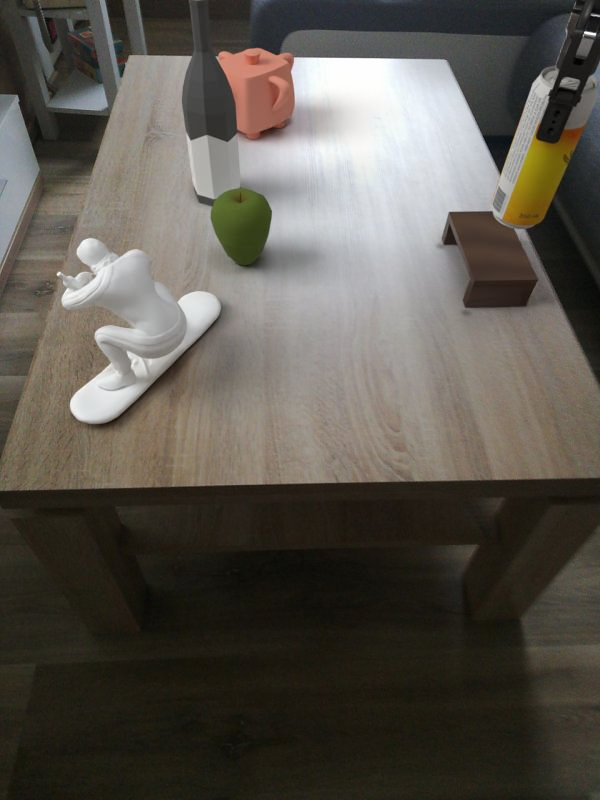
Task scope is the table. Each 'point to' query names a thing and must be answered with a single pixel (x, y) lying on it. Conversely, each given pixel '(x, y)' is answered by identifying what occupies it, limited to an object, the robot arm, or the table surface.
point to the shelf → (490, 260)
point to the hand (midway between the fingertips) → (551, 124)
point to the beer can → (539, 155)
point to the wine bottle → (209, 115)
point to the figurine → (145, 311)
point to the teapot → (260, 88)
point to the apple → (241, 223)
